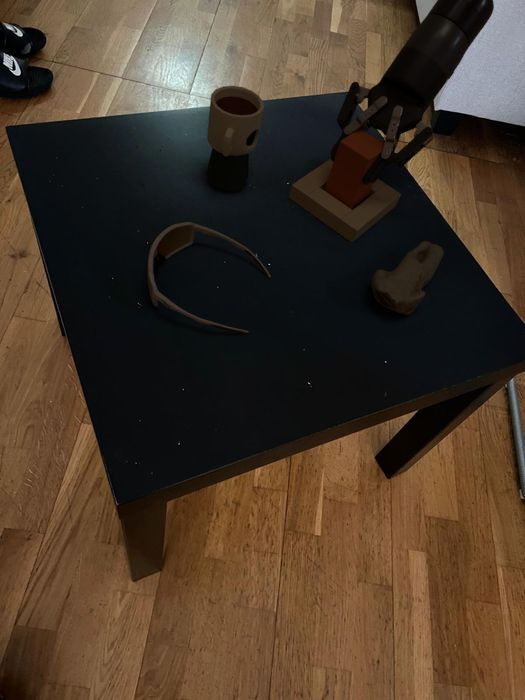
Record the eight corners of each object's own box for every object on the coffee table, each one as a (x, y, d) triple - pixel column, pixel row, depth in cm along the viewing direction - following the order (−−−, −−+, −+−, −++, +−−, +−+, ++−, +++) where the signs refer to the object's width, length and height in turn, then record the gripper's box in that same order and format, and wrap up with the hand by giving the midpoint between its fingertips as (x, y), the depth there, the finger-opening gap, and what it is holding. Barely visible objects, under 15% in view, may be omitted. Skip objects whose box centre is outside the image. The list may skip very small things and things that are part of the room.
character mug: (242, 210, 78) (256, 131, 67) (195, 198, 78) (201, 117, 67) (255, 164, 84) (270, 85, 74) (211, 152, 84) (219, 72, 73)
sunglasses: (170, 229, 73) (176, 203, 69) (270, 276, 75) (281, 253, 71) (124, 305, 65) (128, 280, 61) (238, 355, 67) (249, 334, 63)
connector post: (368, 196, 82) (388, 145, 75) (349, 210, 80) (369, 160, 72) (342, 178, 83) (360, 127, 76) (323, 192, 81) (340, 141, 74)
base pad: (395, 206, 84) (401, 194, 82) (352, 243, 78) (357, 230, 76) (334, 165, 87) (339, 152, 85) (288, 197, 81) (291, 184, 79)
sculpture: (400, 248, 80) (353, 300, 72) (415, 224, 77) (368, 276, 68) (440, 275, 79) (398, 332, 70) (457, 252, 75) (415, 310, 67)
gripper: (379, 23, 71) (303, 137, 75) (470, 76, 67) (386, 192, 71) (386, 52, 78) (316, 154, 82) (469, 101, 74) (392, 205, 78)
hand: (349, 171), depth 76 cm, fingers closed on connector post, 5 cm apart
